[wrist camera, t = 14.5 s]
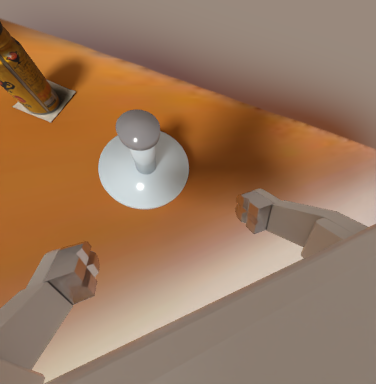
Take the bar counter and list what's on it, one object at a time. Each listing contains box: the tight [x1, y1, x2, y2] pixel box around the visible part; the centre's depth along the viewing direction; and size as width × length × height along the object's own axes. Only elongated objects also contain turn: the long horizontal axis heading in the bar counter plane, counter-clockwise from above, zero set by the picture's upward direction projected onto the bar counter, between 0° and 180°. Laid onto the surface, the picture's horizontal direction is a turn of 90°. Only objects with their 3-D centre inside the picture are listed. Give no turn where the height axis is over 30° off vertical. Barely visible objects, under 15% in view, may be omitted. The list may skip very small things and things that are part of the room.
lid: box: [98, 110, 189, 210], centre depth 20 cm, size 14×14×10 cm
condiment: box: [0, 22, 76, 122], centre depth 24 cm, size 7×8×12 cm
